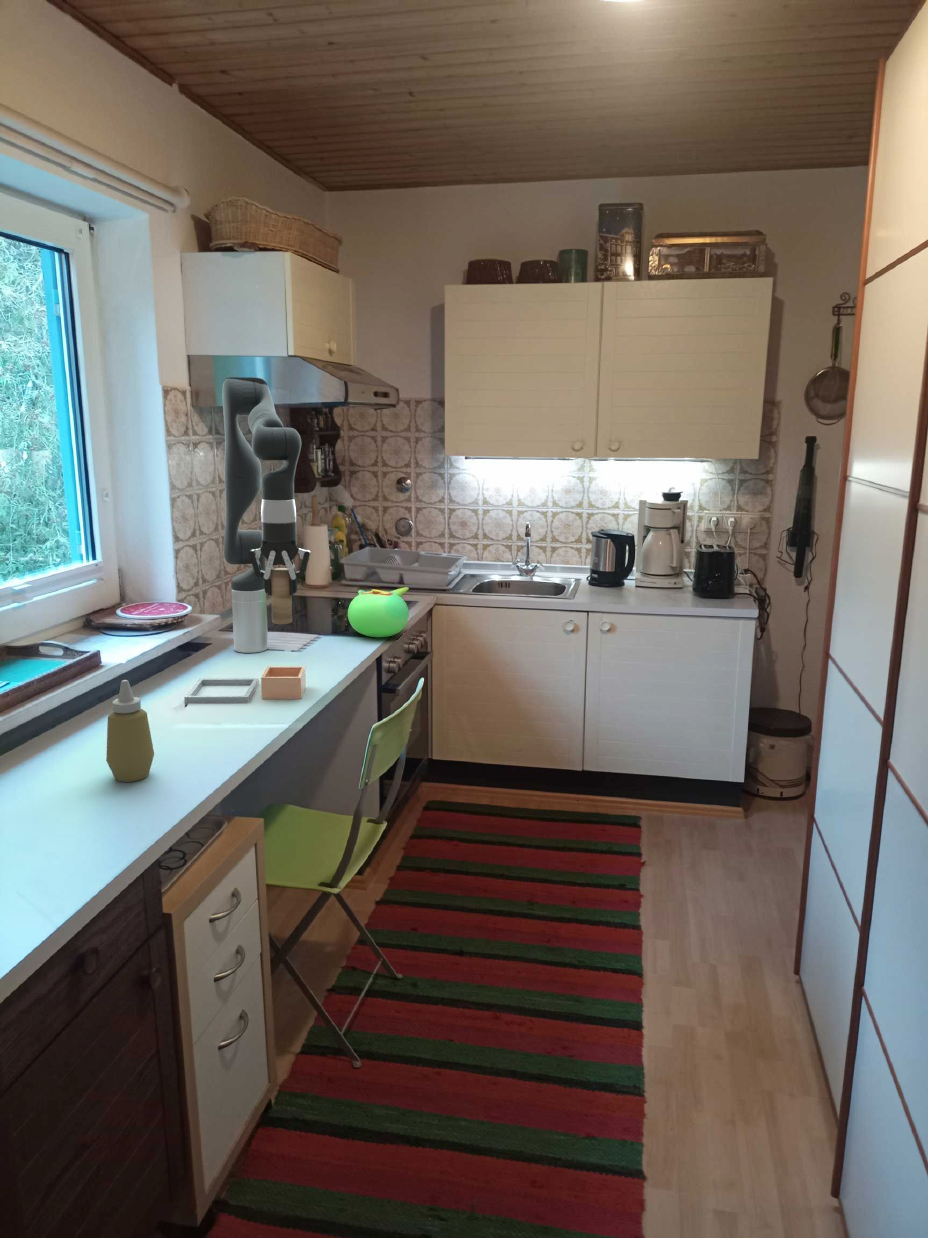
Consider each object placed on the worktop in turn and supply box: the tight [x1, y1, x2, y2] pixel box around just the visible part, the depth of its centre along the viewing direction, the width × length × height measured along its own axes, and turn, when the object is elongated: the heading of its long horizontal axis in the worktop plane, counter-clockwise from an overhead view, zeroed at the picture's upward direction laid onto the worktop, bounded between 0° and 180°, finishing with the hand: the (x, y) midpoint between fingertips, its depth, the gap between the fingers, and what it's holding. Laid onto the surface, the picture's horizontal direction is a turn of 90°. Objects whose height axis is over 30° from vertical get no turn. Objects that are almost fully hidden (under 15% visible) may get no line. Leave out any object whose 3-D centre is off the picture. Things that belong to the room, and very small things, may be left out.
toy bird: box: [347, 587, 410, 638], centre depth 256 cm, size 18×17×15 cm
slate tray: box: [184, 677, 260, 708], centre depth 200 cm, size 14×14×2 cm
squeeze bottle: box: [105, 679, 155, 783], centre depth 154 cm, size 8×8×18 cm
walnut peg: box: [270, 567, 293, 625], centre depth 195 cm, size 4×4×12 cm
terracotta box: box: [260, 666, 307, 700], centre depth 200 cm, size 9×9×6 cm
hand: (281, 594), depth 195 cm, fingers closed on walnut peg, 4 cm apart
